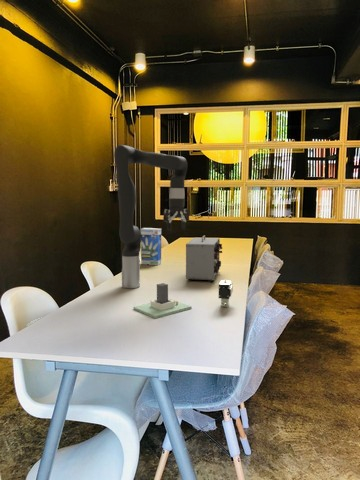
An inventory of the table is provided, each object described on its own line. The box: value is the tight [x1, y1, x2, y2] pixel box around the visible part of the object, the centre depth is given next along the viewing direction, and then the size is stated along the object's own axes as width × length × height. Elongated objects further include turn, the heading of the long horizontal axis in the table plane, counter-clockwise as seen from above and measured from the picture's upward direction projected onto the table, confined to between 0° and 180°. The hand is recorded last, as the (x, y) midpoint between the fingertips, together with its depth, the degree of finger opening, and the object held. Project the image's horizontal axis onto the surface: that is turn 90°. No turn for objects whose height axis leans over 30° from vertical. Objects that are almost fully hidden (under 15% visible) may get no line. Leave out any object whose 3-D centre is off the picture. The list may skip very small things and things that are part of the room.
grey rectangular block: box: [156, 282, 169, 304], centre depth 162 cm, size 4×4×10 cm
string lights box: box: [140, 227, 162, 266], centre depth 266 cm, size 13×8×26 cm, turn 73°
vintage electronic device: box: [185, 235, 223, 283], centre depth 225 cm, size 32×18×25 cm, turn 168°
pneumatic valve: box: [218, 279, 234, 308], centre depth 166 cm, size 6×12×12 cm, turn 166°
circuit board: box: [133, 298, 193, 319], centre depth 163 cm, size 20×16×4 cm
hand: (176, 229), depth 185 cm, fingers open, 8 cm apart
